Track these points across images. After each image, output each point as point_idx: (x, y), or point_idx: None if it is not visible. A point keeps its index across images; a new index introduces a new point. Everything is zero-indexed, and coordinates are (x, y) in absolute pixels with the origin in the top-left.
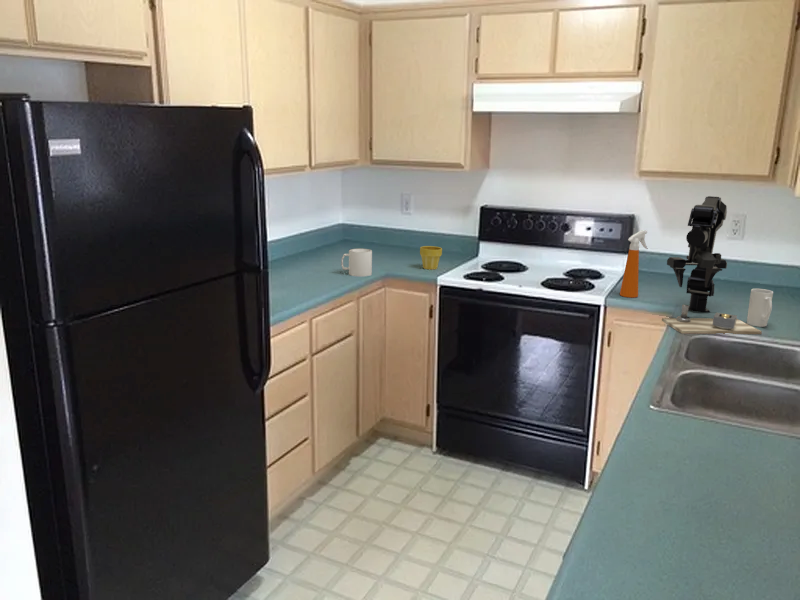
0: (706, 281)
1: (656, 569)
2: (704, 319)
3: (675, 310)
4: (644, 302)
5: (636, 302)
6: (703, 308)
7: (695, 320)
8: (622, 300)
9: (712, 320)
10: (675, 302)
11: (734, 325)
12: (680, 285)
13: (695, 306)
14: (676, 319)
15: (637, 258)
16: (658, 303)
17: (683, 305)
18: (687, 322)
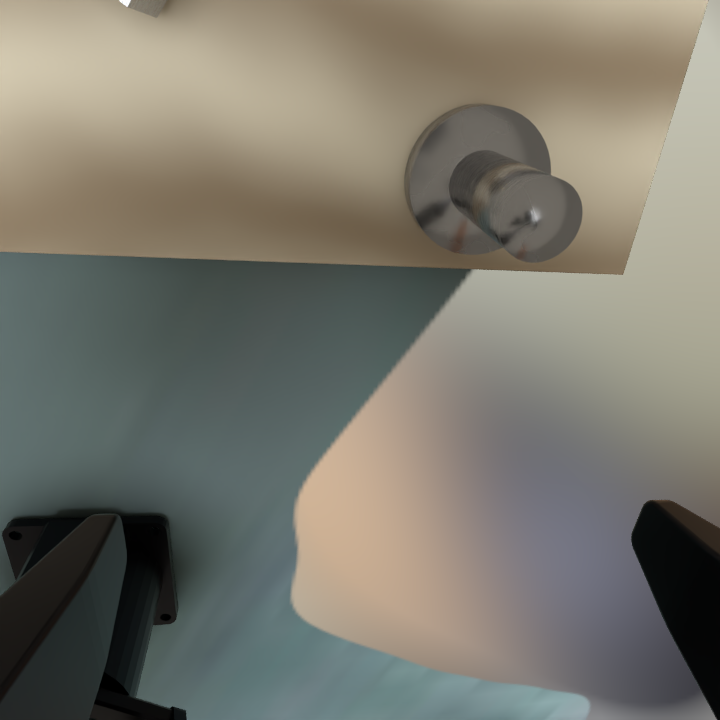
0: (81, 661)
1: None
2: (208, 216)
3: (292, 548)
4: (408, 686)
5: (462, 681)
6: (65, 534)
7: (334, 179)
8: (522, 704)
9: (128, 173)
10: (186, 708)
11: None
12: (701, 518)
13: (128, 567)
14: None
15: None
16: (324, 678)
17: (581, 206)
18: (474, 99)
